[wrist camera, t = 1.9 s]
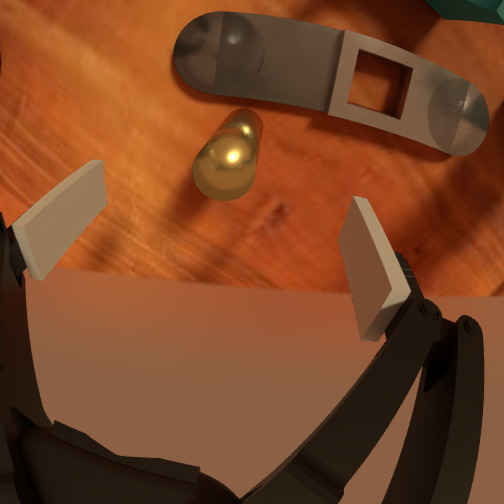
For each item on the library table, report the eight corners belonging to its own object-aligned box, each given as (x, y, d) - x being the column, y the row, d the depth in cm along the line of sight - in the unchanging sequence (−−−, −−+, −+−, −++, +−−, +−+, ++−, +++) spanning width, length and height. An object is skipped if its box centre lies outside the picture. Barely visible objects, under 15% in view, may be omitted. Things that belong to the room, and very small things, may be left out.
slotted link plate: (174, 90, 24) (165, 93, 22) (182, 12, 19) (174, 9, 17) (464, 157, 25) (475, 165, 23) (483, 94, 20) (496, 99, 18)
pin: (222, 141, 27) (191, 196, 17) (226, 106, 25) (193, 139, 15) (259, 146, 27) (249, 205, 17) (265, 111, 25) (258, 148, 15)
